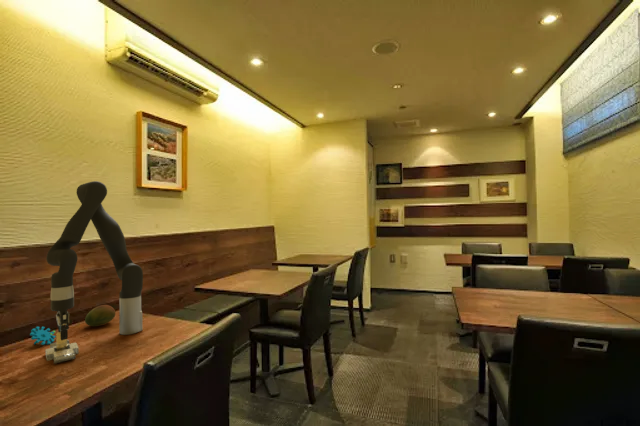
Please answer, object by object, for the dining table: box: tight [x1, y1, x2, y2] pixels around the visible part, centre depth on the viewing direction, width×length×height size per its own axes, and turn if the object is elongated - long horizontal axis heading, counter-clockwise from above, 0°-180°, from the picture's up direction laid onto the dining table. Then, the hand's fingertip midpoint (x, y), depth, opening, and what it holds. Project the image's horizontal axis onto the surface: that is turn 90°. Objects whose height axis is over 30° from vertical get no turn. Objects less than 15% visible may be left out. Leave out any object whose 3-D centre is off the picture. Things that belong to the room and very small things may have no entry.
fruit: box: [84, 304, 116, 327], centre depth 167 cm, size 12×13×10 cm
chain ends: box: [45, 339, 80, 365], centre depth 132 cm, size 10×22×3 cm, turn 43°
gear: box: [29, 326, 57, 346], centre depth 143 cm, size 11×6×10 cm
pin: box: [55, 331, 68, 352], centre depth 132 cm, size 4×4×9 cm
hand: (62, 336), depth 132 cm, fingers open, 8 cm apart
